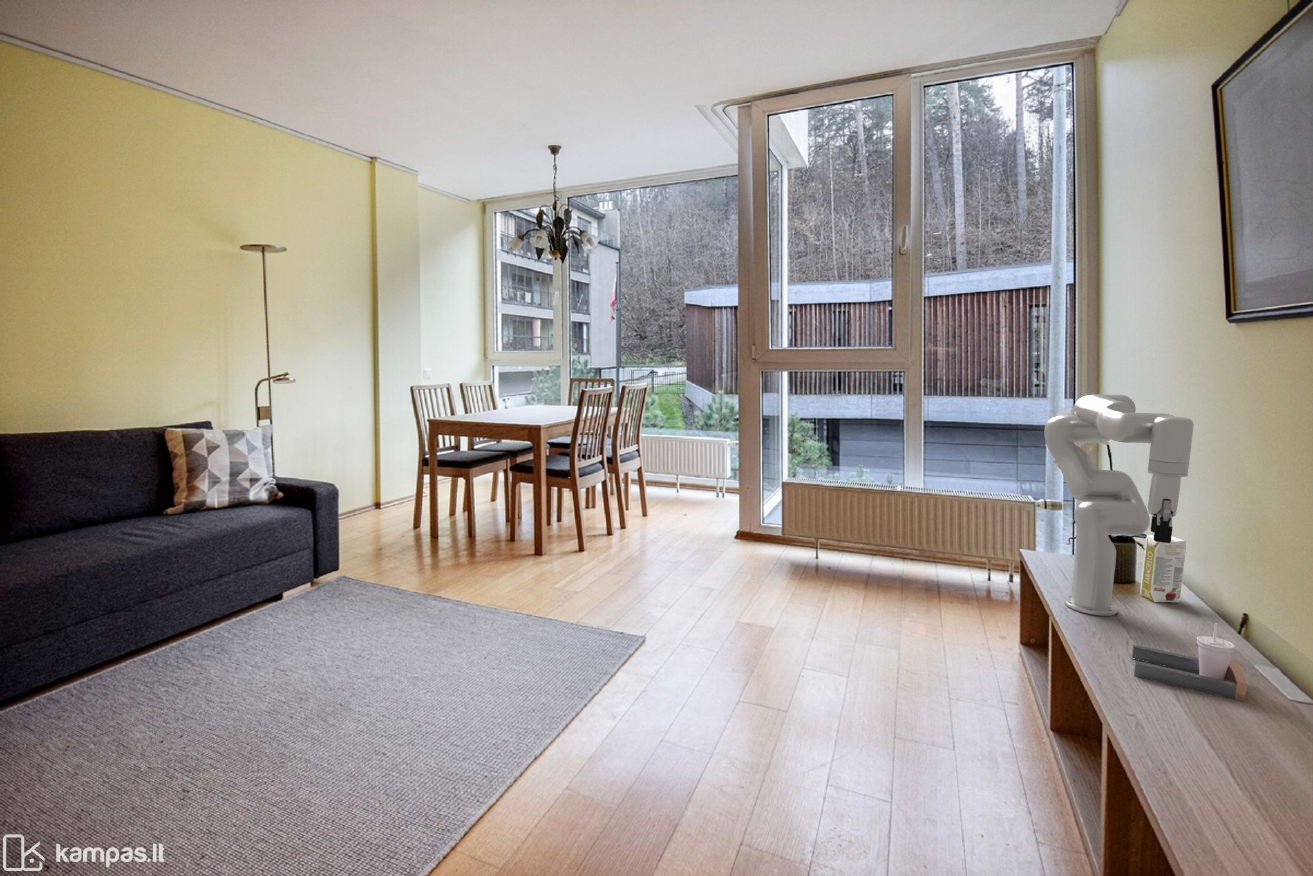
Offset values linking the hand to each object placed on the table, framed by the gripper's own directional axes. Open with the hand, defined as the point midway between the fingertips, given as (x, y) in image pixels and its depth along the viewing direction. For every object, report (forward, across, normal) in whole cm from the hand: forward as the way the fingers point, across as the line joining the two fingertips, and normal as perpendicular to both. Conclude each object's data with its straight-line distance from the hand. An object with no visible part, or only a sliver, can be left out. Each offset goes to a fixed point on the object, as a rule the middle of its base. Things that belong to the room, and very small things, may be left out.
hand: (1160, 537), depth 153 cm
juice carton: (+28, -42, +5) cm, 51 cm away
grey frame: (+28, +14, +5) cm, 32 cm away
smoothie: (+28, +14, +10) cm, 33 cm away
